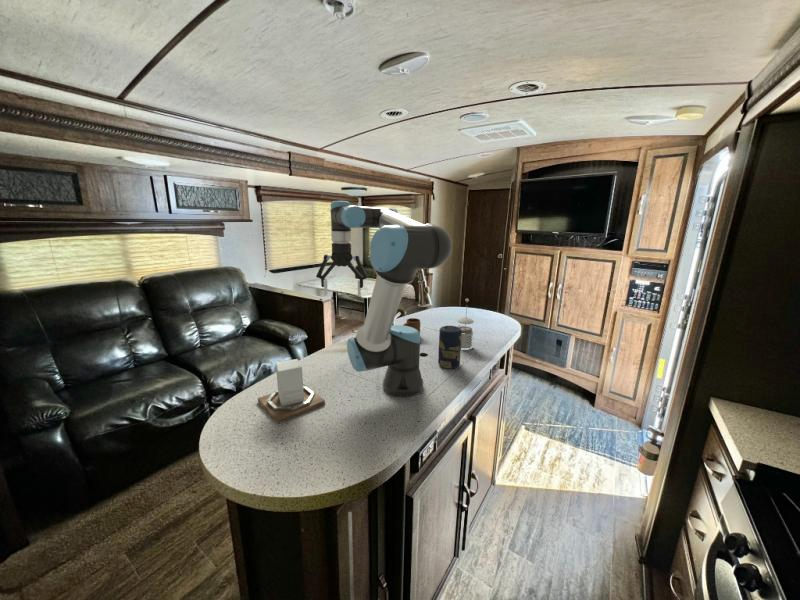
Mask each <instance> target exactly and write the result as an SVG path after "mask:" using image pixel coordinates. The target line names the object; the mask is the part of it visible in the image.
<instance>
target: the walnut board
mask: <svg viewBox="0 0 800 600" xmlns="http://www.w3.org/2000/svg"><path fill="white" fill-rule="evenodd" d="M303 386H306V387H307V388H309V387H308V386H307V385H305V384H304V383H303ZM309 389H310V390H311V391H313V390H312V389H311V388H309ZM313 392H314V397H313V399H312V401H311V403H310V405H307V406H305V407H302V408H300V409H298V410H295V411H293V412H292V411H274V410H273V409H272V408H271V407H270V406H269V405H268V404H267V400H268V398H269V397H270V396H271V394H272V393H269V394H266V395H263V396H260V397H257V403H258V402H259V403H260V404H261V405H262V406H263V407H262V406H261V405H260V404H259V403H258V404H259V405H260V406H261V407H262V408H263V409H264V410H265V411H266V412H267V413H268V415H269V416H270V417H271V416H272V417H273V418H274V419H275V420H276V421H277V422H276V421H275V420H274V419H273V418H272V419H273V420H274V421H275V422H276V423H277V424H278V423H279V424H281V423H280V422H282V423H284V422H286V421H289V420H291V419H293V418H295V417H298V416H302V415H304V414H305V413H308V412H310V411H312V410H314V409H317V408H319V407H322V406H324V405H325V404H326V400H325V399H324V398H322V396H320V395H319V394H317V393H316V392H315V391H313ZM303 393H304V401H303V402H306V401H307V400H308V398H309V396H310V395H309V394H308V393H307V392H306V391H304V390H303ZM272 402H273V403H274V404H275V405H276V406H280V407H282V406H281V403H280V399H279V396H278V395H276V396H275V397H274V399H273V400H272ZM303 402H299V403H295V404H291V405H287V406H283V407H293V406H296V405H298V404H301V403H303ZM288 419H289V420H288ZM283 421H284V422H283Z"/></svg>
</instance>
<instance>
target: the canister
mask: <svg viewBox="0 0 800 600" xmlns="http://www.w3.org/2000/svg"><path fill="white" fill-rule="evenodd" d="M459 327H460V326H459ZM459 327H458V326H455V325H444V326H443V325H442V326H441V327H440V328H439V334H438V335H439V336H438V359H437V363H438V365H439V366H441V367H443V368H445V369H456V368H458V367H459V366H460V364H461V353H462V352H461V351H462V350H461V339H462V334H463V333H462V330H461V329H460V328H459ZM455 367H456V368H455Z"/></svg>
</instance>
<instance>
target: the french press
mask: <svg viewBox="0 0 800 600" xmlns="http://www.w3.org/2000/svg"><path fill="white" fill-rule="evenodd" d="M465 302H470V299H469V298H465ZM465 307H466V310H465V314H467V312H468V311H467V310H468V306H465ZM474 322H475V321H474V319H472V318H470V317H467V316H465V317H460V318H458V319H457V323H459V325H458V326H457V327H459V328H460V329H461V330H462V339H461V348H470V347H471V346H473V342H472V341H473V335H474V332H473V328H472V327H470V326H466V325H471V324H474ZM460 324H463V325H464V326H463V325H462V326H461V325H460Z"/></svg>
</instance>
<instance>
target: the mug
mask: <svg viewBox="0 0 800 600" xmlns="http://www.w3.org/2000/svg"><path fill="white" fill-rule="evenodd" d="M403 326H409V327H412V328H415V329H416V330H418V331H419V333H420V334H421V320H420V319H419V318H413V317H410V318H408V319H406V322H404V323H403Z"/></svg>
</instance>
